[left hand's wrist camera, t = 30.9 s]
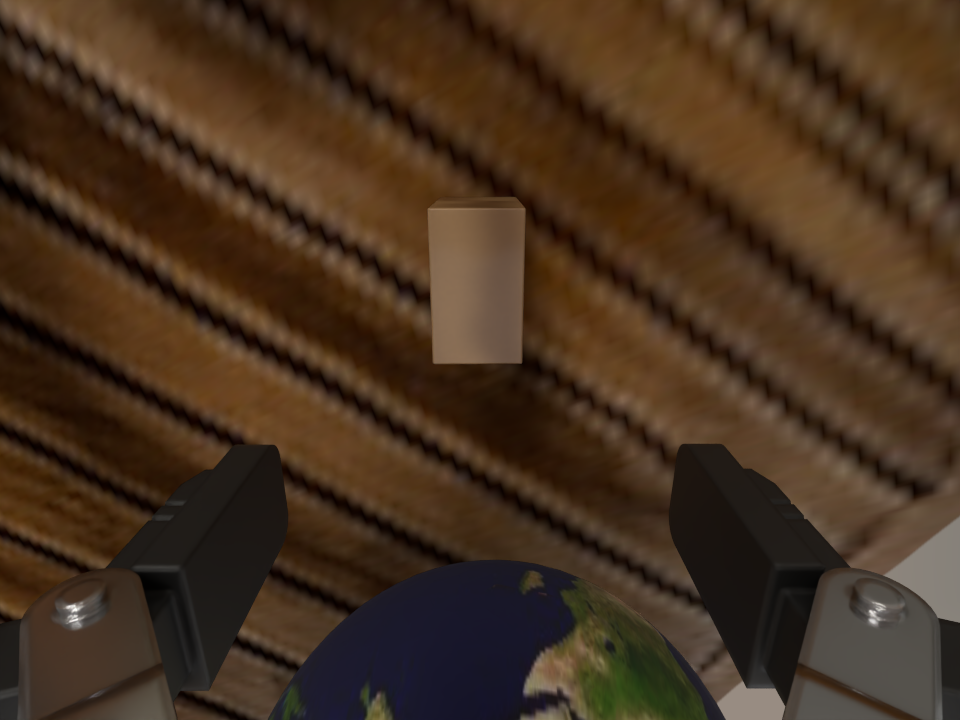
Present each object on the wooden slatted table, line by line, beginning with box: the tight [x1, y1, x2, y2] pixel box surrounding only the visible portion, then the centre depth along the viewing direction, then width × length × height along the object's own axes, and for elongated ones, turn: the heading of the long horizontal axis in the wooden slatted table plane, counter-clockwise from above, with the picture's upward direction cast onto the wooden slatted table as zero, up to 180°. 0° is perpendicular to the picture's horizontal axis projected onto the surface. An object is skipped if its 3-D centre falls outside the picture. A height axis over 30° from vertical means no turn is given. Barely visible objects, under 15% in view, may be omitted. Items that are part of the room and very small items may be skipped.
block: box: [427, 197, 526, 364], centre depth 33 cm, size 5×8×8 cm, turn 0°
